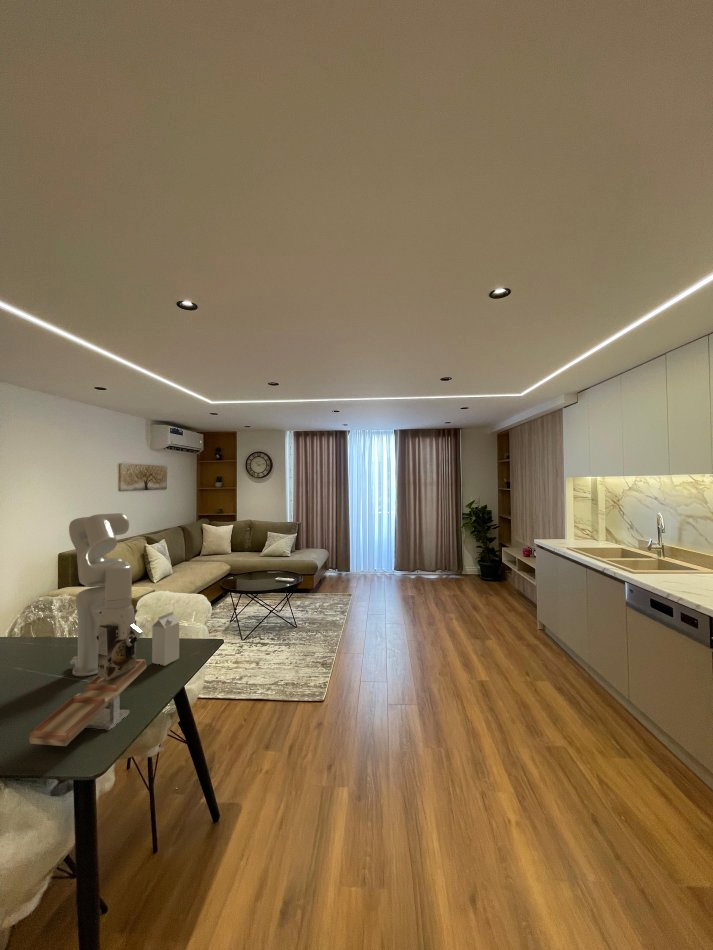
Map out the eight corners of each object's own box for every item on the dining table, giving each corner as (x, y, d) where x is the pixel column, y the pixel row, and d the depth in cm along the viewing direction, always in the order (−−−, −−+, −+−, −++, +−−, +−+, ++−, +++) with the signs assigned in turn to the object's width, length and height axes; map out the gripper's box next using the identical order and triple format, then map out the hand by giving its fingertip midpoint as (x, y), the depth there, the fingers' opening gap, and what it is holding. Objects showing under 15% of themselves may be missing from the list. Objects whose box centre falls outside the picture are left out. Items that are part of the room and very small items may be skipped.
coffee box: (107, 680, 118) (108, 629, 118) (96, 675, 121) (97, 625, 122) (136, 668, 126) (137, 619, 126) (125, 664, 129) (126, 616, 130)
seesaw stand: (60, 726, 111) (60, 702, 112) (83, 711, 119) (83, 688, 120) (109, 730, 110) (109, 705, 110) (129, 713, 117) (129, 690, 118)
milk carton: (151, 663, 152) (152, 616, 152) (166, 655, 158) (166, 610, 159) (164, 666, 149) (165, 618, 149) (179, 658, 155) (179, 612, 156)
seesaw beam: (29, 746, 100) (27, 733, 99) (118, 668, 131) (117, 658, 131) (67, 749, 98) (64, 736, 98) (147, 669, 130) (146, 659, 129)
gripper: (85, 605, 122) (84, 660, 121) (134, 607, 120) (134, 662, 119) (103, 598, 129) (102, 650, 129) (150, 600, 127) (149, 652, 127)
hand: (117, 655), depth 124 cm, fingers closed on coffee box, 8 cm apart
